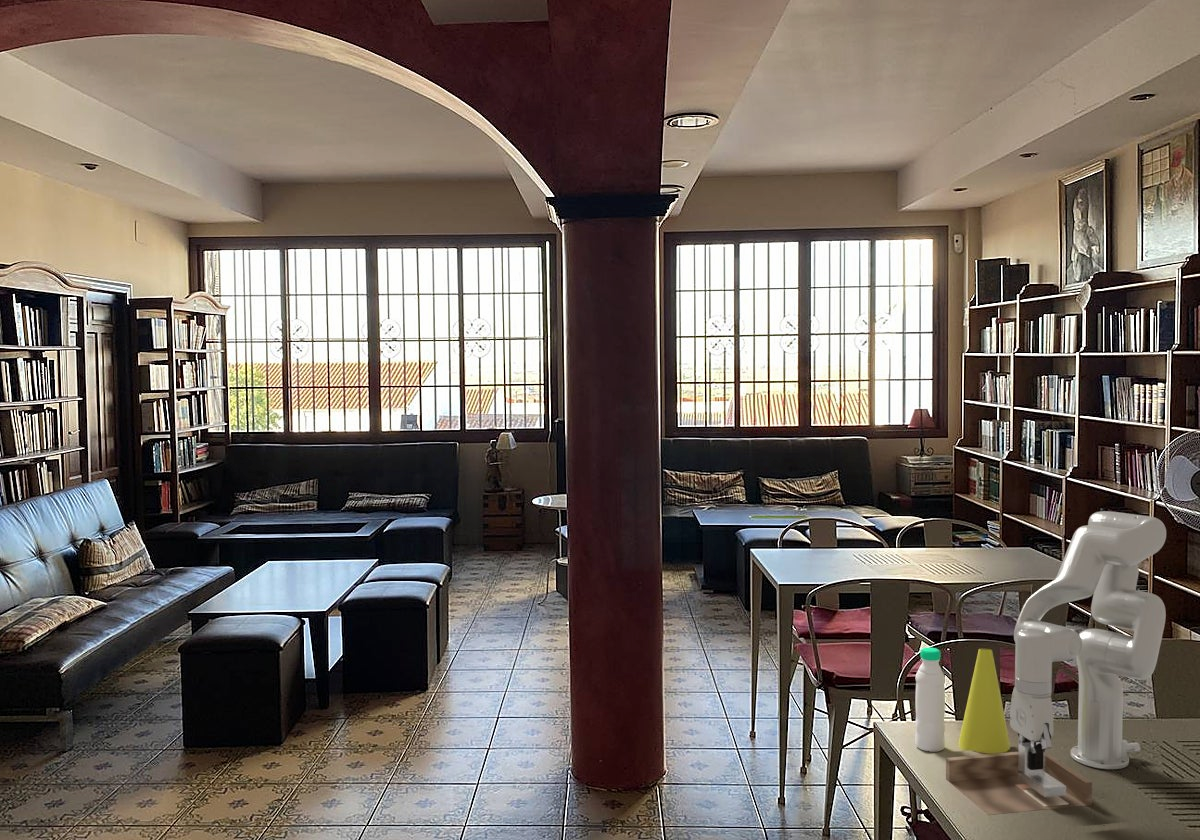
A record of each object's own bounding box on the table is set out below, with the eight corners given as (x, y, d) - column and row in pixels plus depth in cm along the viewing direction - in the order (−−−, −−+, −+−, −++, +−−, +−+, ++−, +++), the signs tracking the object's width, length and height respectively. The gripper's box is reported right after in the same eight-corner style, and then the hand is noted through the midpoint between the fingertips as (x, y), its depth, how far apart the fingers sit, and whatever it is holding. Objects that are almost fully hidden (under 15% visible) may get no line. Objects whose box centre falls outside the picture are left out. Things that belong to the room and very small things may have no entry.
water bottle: (946, 753, 246) (947, 654, 244) (916, 751, 247) (917, 652, 245) (942, 742, 252) (943, 645, 251) (913, 740, 254) (914, 644, 252)
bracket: (1018, 777, 224) (1018, 743, 224) (1038, 776, 225) (1039, 741, 225) (1044, 797, 215) (1045, 760, 214) (1065, 795, 215) (1066, 759, 215)
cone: (958, 735, 257) (959, 640, 255) (1010, 741, 252) (1011, 644, 251) (957, 753, 245) (958, 654, 244) (1011, 760, 241) (1012, 659, 239)
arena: (1041, 774, 233) (1042, 749, 232) (1091, 809, 215) (1092, 782, 215) (945, 783, 229) (946, 757, 229) (988, 819, 211) (988, 791, 211)
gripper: (997, 675, 230) (996, 753, 231) (1039, 699, 214) (1037, 782, 215) (1027, 673, 231) (1026, 751, 232) (1071, 696, 215) (1069, 780, 216)
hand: (1031, 765), depth 223 cm, fingers closed on bracket, 2 cm apart
